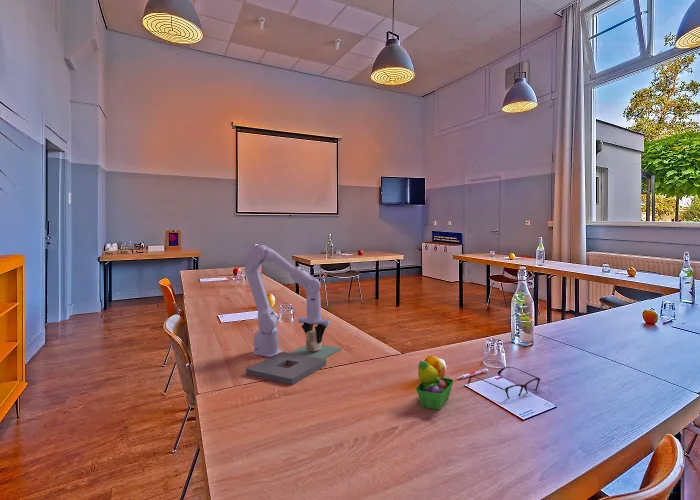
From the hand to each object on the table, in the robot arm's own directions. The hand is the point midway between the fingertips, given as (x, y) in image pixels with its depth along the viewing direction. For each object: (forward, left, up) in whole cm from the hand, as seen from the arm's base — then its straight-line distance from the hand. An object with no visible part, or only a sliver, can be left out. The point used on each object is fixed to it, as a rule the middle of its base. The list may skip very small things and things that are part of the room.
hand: (314, 342), depth 150 cm
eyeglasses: (+71, -1, -5) cm, 71 cm away
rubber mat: (0, 0, -4) cm, 4 cm away
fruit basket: (+55, -21, -4) cm, 59 cm away
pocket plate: (+2, -20, -4) cm, 21 cm away
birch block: (0, -1, -3) cm, 3 cm away
